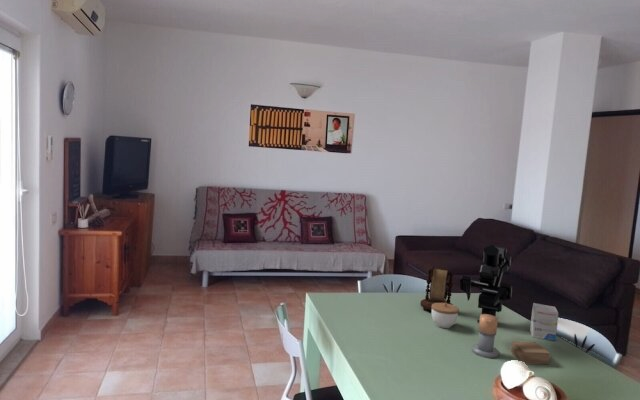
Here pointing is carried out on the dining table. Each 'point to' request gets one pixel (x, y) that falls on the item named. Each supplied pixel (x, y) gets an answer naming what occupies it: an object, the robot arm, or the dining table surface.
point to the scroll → (437, 288)
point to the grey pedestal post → (485, 346)
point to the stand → (530, 352)
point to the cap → (488, 324)
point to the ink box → (544, 322)
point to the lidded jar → (444, 314)
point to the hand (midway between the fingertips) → (480, 302)
